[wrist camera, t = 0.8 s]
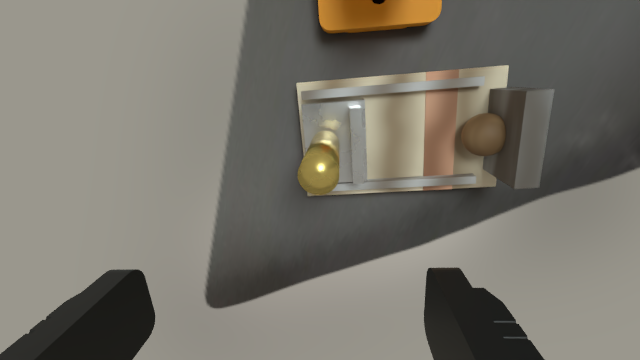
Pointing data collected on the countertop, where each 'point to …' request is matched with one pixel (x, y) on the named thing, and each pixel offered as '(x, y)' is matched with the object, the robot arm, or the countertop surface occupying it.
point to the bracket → (375, 14)
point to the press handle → (333, 145)
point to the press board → (443, 129)
